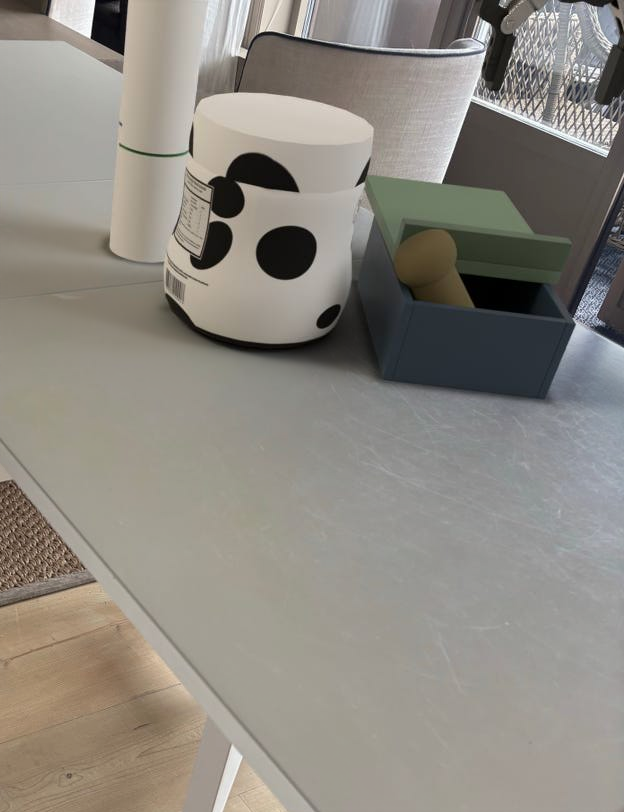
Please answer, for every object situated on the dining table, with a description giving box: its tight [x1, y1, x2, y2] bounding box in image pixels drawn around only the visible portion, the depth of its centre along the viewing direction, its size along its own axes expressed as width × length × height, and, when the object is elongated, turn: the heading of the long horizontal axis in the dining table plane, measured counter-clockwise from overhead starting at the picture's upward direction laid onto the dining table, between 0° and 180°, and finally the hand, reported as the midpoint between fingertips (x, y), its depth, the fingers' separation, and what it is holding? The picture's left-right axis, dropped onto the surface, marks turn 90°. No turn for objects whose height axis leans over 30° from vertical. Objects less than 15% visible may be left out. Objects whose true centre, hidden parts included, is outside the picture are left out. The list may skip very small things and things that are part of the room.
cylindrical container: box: [109, 0, 209, 264], centre depth 95 cm, size 7×7×25 cm
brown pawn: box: [393, 229, 475, 308], centre depth 85 cm, size 6×6×11 cm
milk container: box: [163, 92, 375, 350], centre depth 87 cm, size 17×17×18 cm
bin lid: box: [364, 173, 573, 286], centre depth 95 cm, size 15×22×4 cm
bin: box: [356, 214, 577, 400], centre depth 92 cm, size 15×22×8 cm
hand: (546, 96), depth 74 cm, fingers open, 8 cm apart
